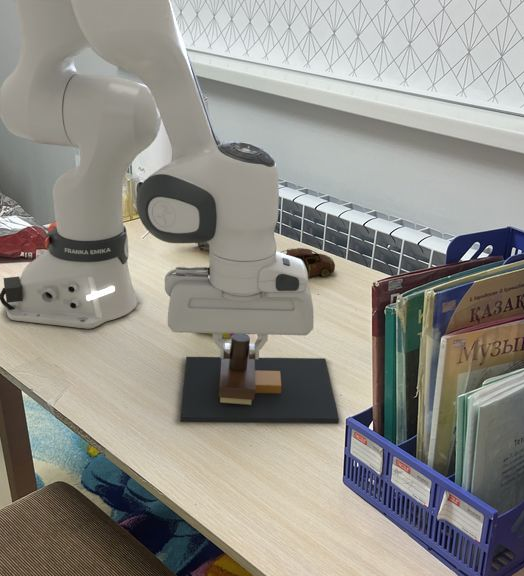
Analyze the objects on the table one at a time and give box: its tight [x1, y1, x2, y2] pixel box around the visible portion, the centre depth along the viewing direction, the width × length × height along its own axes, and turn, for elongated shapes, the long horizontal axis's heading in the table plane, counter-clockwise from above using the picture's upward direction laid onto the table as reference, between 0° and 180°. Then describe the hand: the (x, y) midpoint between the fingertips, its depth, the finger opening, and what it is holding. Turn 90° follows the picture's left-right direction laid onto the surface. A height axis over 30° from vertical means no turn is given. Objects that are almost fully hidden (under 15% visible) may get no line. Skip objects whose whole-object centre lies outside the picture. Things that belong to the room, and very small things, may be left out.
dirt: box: [255, 370, 281, 393], centre depth 102 cm, size 4×4×1 cm
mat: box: [179, 356, 340, 424], centre depth 103 cm, size 22×16×1 cm
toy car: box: [281, 247, 336, 278], centre depth 138 cm, size 12×7×5 cm, turn 102°
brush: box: [219, 334, 255, 405], centre depth 100 cm, size 11×5×8 cm, turn 1°
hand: (239, 357), depth 99 cm, fingers closed on brush, 3 cm apart
